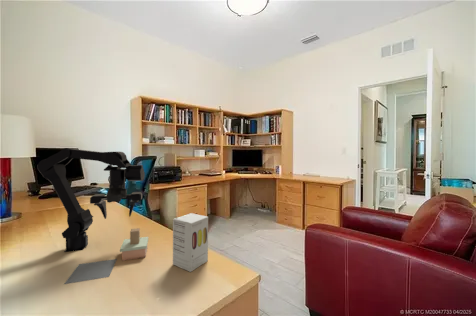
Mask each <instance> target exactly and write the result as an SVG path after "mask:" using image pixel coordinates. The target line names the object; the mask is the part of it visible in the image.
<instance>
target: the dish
mask: <svg viewBox="0 0 476 316" xmlns="http://www.w3.org/2000/svg"><path fill="white" fill-rule="evenodd" d="M147 252H148V247H147V248H146V249H138V250H131V251H123V252H121V260H122V261H129V260H137V259H138V260H139V259H145V258H146V257H147Z"/></svg>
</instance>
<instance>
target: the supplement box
mask: <svg viewBox="0 0 476 316" xmlns="http://www.w3.org/2000/svg"><path fill="white" fill-rule="evenodd" d="M208 261H209V216H206V215H202V214H197V213H193V212H190V213H187V214H185V215H181V216H179V217H175V218H173V219H172V265H173V266H176V267H178V268H180V269H182V270H185V271H188V272H190V273H191V272H193V271H194V270H196V269H197V268H199V267H200V266H202V265H203V264H205V263H207V262H208Z"/></svg>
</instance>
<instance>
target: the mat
mask: <svg viewBox="0 0 476 316" xmlns="http://www.w3.org/2000/svg"><path fill="white" fill-rule="evenodd" d="M117 260H118V258H113V259H106V260H99V261H93V262H85V263H79V264H78V265H77V267H75V269H74V270H73V271H72V273H71V274H70V276H69V277H68V278H67V279H66V281H65V282H64V284H63V285H68V284H69V285H70V284H73V283H81V282H86V281H93V280H99V279H100V280H101V279H104V278H105V279H106V278H110V276H111V273H112V272H113V270H114V267H115V264H116V262H117Z"/></svg>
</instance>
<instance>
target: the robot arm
mask: <svg viewBox="0 0 476 316" xmlns="http://www.w3.org/2000/svg"><path fill="white" fill-rule="evenodd" d="M73 159H76V160H77V159H78V160H85V161H87V160H88V161H95V162H101V163H104V164H107V166H106V167H105V168H104V169H103V171H105V172H106V171H108V172H109V185H108V186H109V187H108V190H107V192H106V195H105V193H95V194H94V195H92V196H91V197H89V204H91V205H92V204H93V205H94V206H97V207H98V208H99V210H100V211H101V214H102V215H103V218H104V220H106V219H107V215H108V214H107V213H108V211H107V203H120V202H121V201H122V200H130V202H129V211H128V212H129V213H128V216H129V218H130V217H131V216H132V213H133V210H134V206H135V205H136V203H138V202H139V201H142V199H143V193H142V191H134V192H132V193H130V194H128V191H127V188H126V180H127V181H128V182H139V181H140V182H143V181H144V180H145V174H146V173H145V169H144V165H143V164H138V165H137V164H136V165H134V164H133V165H132V163H131V162H130V161H129V160H128V158H127V155H126V154H125V152H123V151H95V150H85V149H77V148H73V147H64V148H62V149H61V150H60V151H58V152H56V153H54V154H51V155H50V156H47V158H45V159H44V158H43V159H42V160H39V162H38V164H37V171H39V173H40V174H41V175H42V177H43V178H45V179H46V180H48V181H49V182H50V183H51V185H52V187H53V189H54V190H55V192H56V194H57V197H58V198H59V200H60V202H61V203H62V204H61V205H63V207H64V209H65V211H66V213H67V217H66V220H67V221H66V223H67V226H68V227H67V228H65V230H63V232H61V236H62V238H63V239H65V250H63V253H70V252H78V251H83V250H84V249H85V248H86V247H87V246H88V244H89V236H88V235H87V231H88V230H89V229H90V227H91V225H92V224H93V221H94V220H93V218H94V216H93V214H92V213H91V210H90V209H89V208H87V209H85V208H83V207H82V206H81V204H80V202H79V200H78V199H77V197H76V194H75V192H74V190H73V189H72V187H71V185H70V183H69V181H68V179H67V176H66V175H67V169H66V168H67V167H66V166H67V165H68V164H69V163H70V162H71V161H72V160H73Z"/></svg>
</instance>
